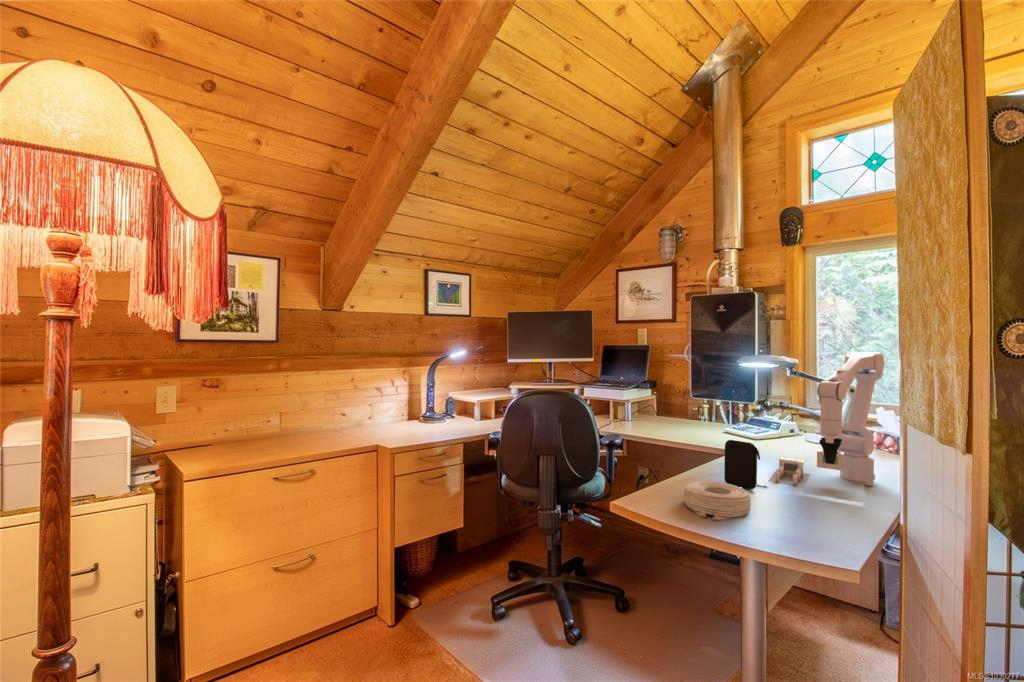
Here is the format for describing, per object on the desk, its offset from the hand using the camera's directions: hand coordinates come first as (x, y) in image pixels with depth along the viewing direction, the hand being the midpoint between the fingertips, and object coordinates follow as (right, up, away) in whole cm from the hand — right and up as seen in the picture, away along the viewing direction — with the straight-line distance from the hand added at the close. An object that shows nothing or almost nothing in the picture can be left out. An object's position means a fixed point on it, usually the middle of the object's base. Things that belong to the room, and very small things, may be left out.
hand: (830, 462), depth 152 cm
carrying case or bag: (-28, -8, 0) cm, 29 cm away
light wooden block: (0, -2, 0) cm, 2 cm away
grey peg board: (-8, -8, +9) cm, 14 cm away
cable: (-44, -9, -18) cm, 49 cm away
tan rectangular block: (-5, -7, +13) cm, 15 cm away
